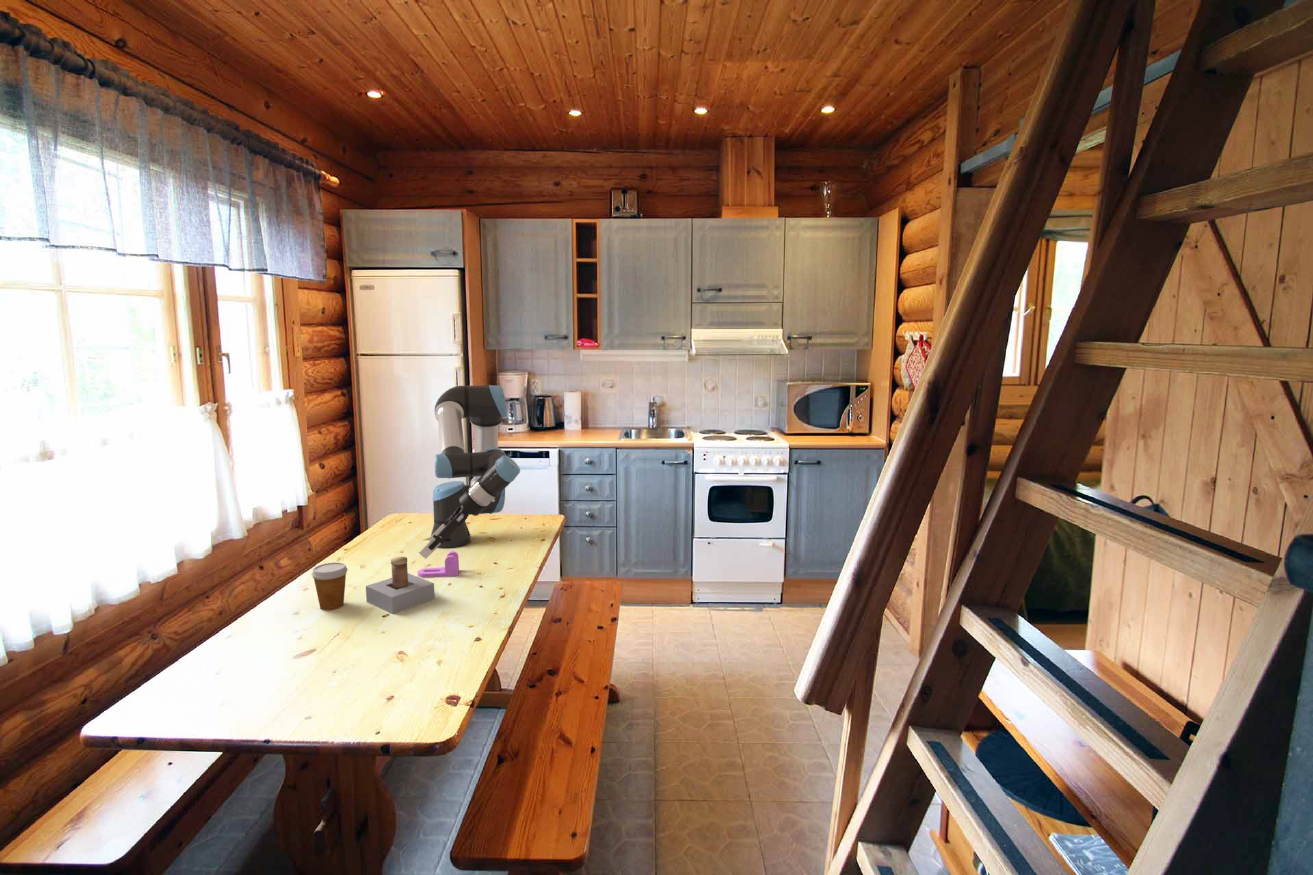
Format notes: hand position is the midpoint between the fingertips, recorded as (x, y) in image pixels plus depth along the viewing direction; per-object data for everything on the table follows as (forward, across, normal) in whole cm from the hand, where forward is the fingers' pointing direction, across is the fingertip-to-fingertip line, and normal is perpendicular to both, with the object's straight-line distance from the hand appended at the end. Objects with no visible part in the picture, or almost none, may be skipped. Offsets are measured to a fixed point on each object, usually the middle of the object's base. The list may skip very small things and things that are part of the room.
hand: (427, 548), depth 199 cm
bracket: (+13, +22, -11) cm, 28 cm away
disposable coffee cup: (+31, -2, +8) cm, 32 cm away
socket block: (+17, 0, -6) cm, 18 cm away
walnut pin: (+17, 0, -6) cm, 18 cm away
